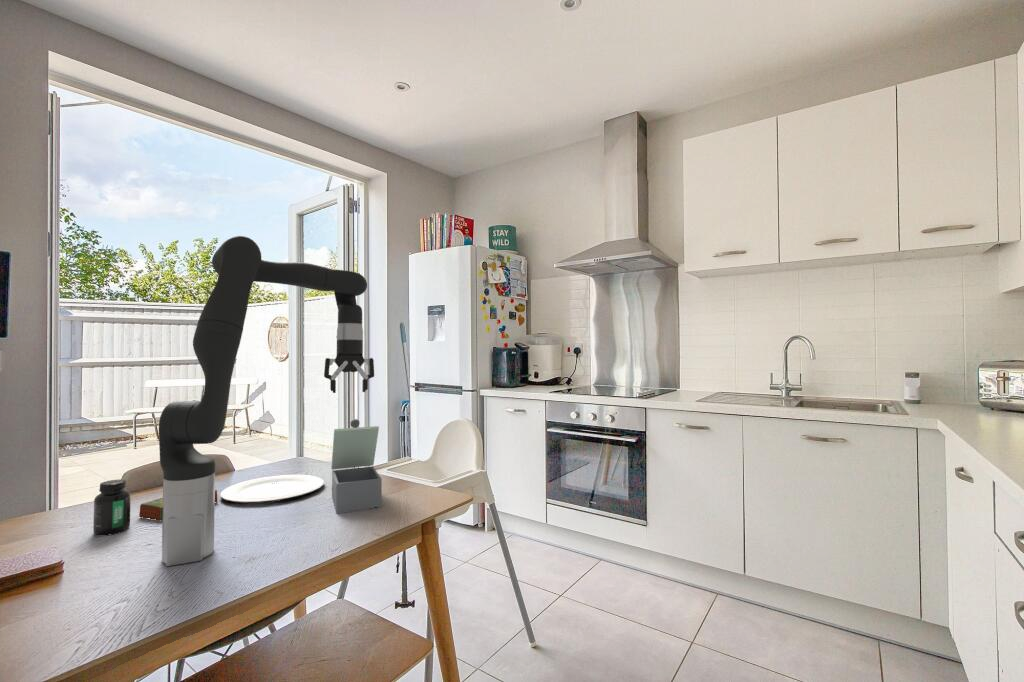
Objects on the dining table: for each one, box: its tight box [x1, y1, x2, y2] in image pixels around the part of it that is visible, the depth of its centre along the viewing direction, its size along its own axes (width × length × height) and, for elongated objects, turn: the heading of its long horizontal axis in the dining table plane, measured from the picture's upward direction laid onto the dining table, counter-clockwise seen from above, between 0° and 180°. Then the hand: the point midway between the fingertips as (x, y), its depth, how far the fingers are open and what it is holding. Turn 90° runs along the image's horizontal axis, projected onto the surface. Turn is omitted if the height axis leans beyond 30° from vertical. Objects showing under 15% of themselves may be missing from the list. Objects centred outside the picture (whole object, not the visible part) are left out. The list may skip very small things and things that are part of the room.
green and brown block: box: [138, 489, 218, 520], centre depth 128 cm, size 8×16×4 cm, turn 161°
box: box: [331, 465, 383, 514], centre depth 135 cm, size 16×12×8 cm
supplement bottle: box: [92, 478, 132, 537], centre depth 113 cm, size 7×7×12 cm
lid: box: [330, 418, 380, 471], centre depth 140 cm, size 16×12×6 cm
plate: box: [220, 474, 325, 504], centre depth 145 cm, size 29×29×2 cm
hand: (349, 392), depth 139 cm, fingers open, 8 cm apart
